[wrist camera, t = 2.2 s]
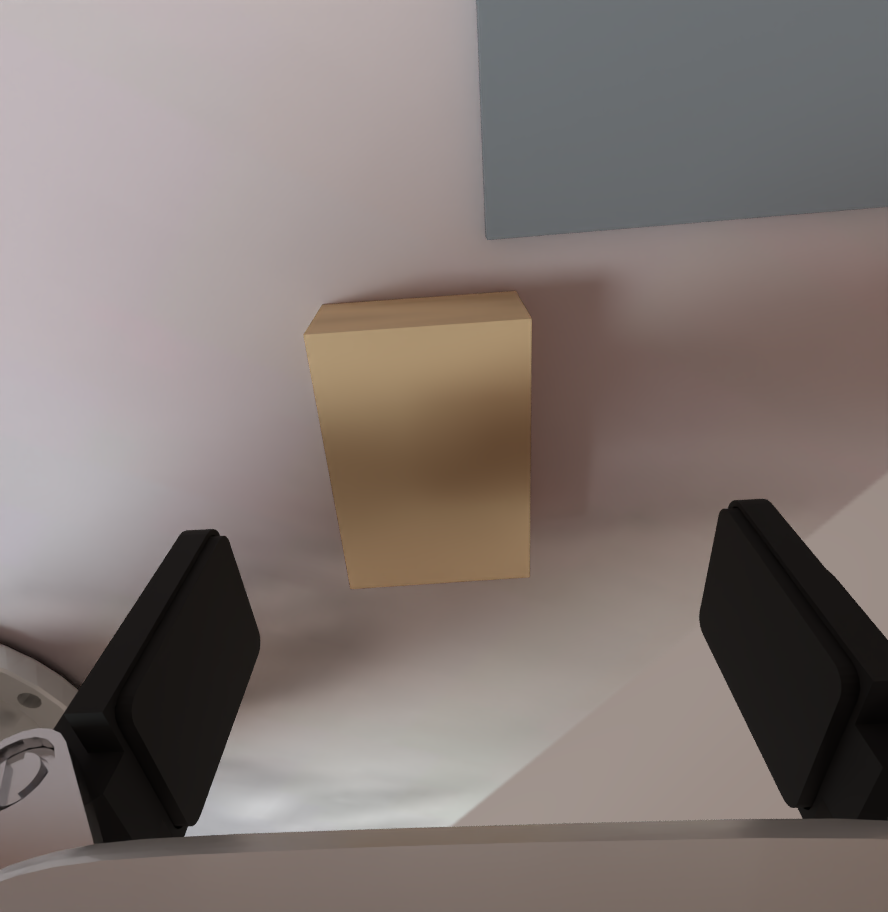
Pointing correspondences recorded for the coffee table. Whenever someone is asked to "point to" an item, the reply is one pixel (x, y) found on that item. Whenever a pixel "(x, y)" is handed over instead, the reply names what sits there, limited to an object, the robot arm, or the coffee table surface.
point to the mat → (679, 111)
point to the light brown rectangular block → (427, 435)
